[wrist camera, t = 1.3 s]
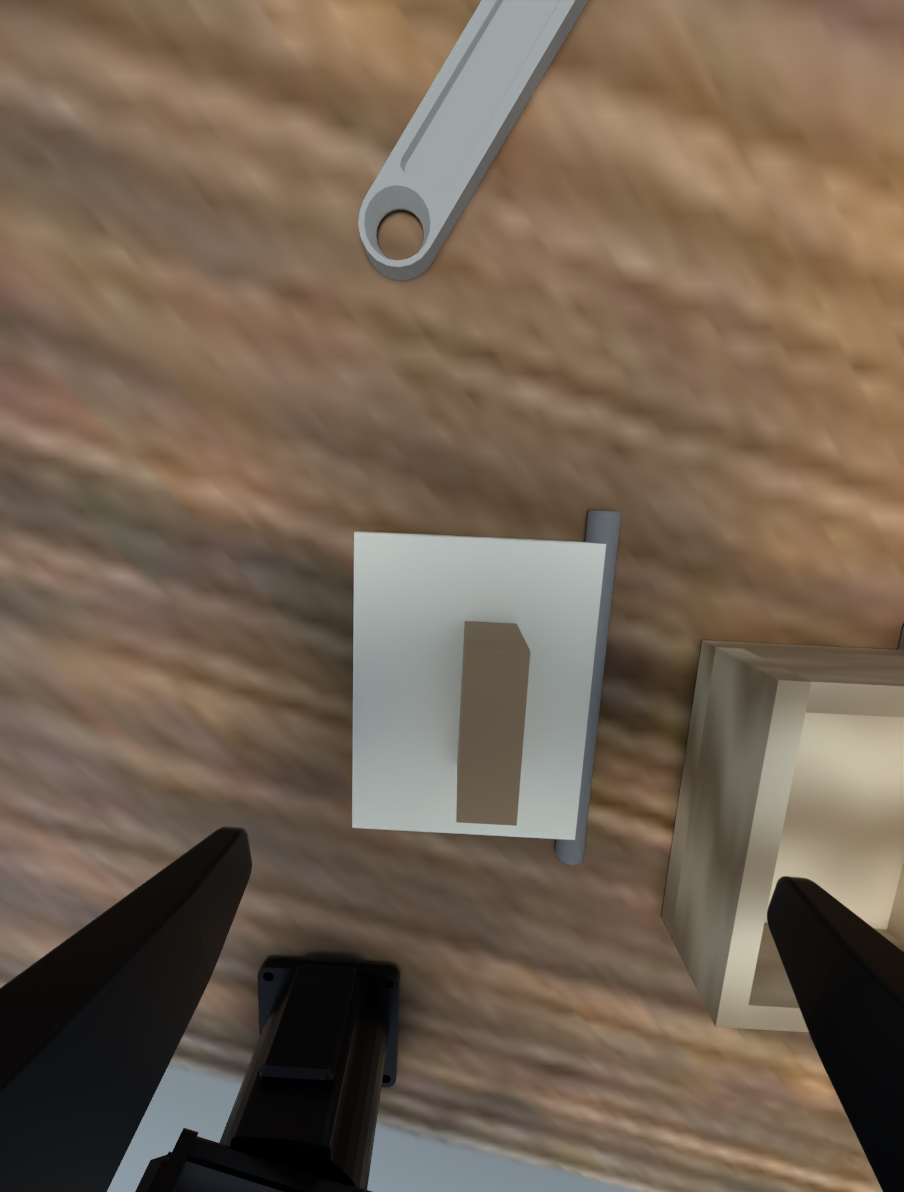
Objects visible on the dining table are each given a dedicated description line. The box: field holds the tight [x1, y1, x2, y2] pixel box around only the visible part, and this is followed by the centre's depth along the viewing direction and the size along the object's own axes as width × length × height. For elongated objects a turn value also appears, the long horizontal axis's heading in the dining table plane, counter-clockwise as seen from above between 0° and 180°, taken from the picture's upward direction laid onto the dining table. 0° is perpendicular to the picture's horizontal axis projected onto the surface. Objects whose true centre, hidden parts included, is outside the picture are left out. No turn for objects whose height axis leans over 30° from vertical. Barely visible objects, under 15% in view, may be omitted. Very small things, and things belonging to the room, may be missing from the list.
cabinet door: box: [352, 510, 621, 865], centre depth 17 cm, size 15×10×5 cm
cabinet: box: [661, 626, 904, 1032], centre depth 16 cm, size 15×11×6 cm
